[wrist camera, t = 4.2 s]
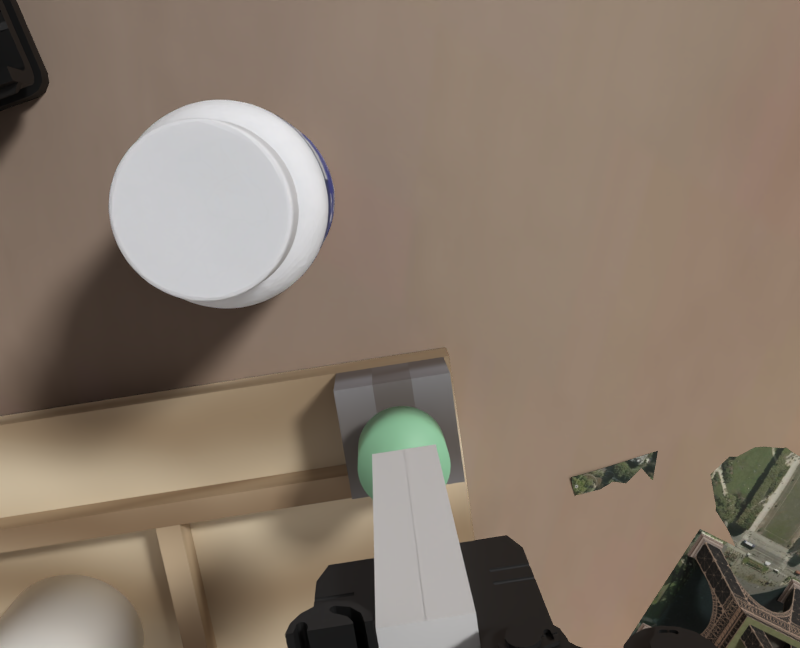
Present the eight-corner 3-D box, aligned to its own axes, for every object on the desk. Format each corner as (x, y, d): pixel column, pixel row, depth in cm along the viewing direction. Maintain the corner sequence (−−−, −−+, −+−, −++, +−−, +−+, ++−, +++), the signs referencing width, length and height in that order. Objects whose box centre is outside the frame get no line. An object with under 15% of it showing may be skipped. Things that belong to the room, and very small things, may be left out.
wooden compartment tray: (-130, 436, 26) (-198, 472, 23) (445, 347, 26) (456, 371, 23) (-30, 757, 29) (-79, 829, 25) (490, 673, 29) (505, 735, 26)
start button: (352, 393, 24) (350, 430, 21) (432, 381, 24) (444, 416, 21) (365, 468, 25) (365, 516, 21) (443, 456, 25) (456, 502, 21)
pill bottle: (269, 308, 26) (219, 380, 17) (143, 207, 25) (23, 229, 16) (369, 188, 25) (371, 198, 16) (243, 80, 24) (175, 30, 15)
